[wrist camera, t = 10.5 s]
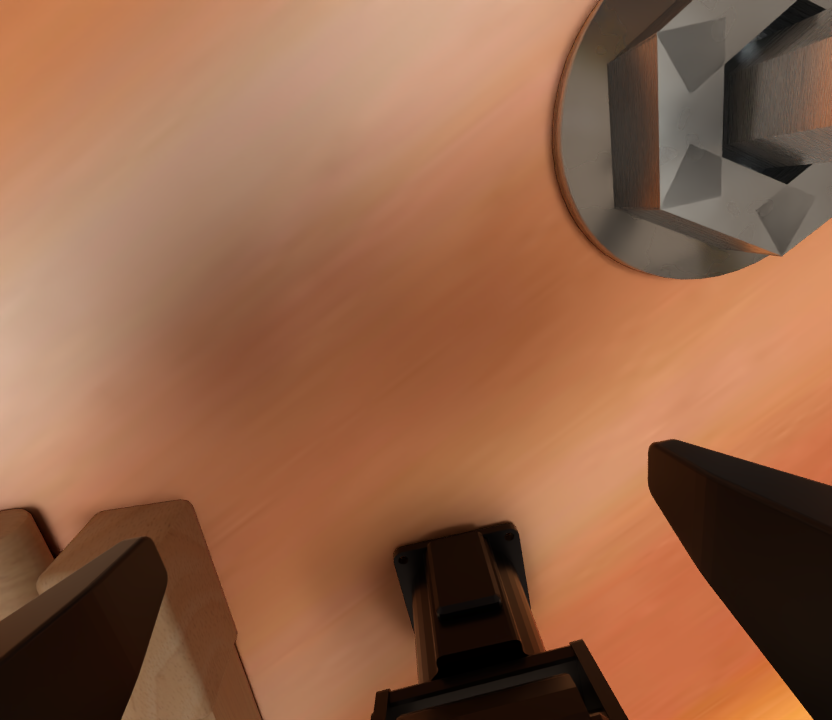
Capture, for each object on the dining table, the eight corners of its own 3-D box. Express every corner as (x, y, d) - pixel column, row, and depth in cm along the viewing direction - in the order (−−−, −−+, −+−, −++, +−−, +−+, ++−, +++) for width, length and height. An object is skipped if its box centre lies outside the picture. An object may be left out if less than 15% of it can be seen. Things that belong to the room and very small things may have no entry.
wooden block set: (125, 566, 16) (249, 847, 22) (189, 476, 21) (274, 722, 27) (-366, 642, 15) (-100, 908, 22) (-175, 530, 21) (-5, 768, 27)
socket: (900, 136, 18) (1037, 118, 14) (653, 331, 20) (716, 360, 16) (772, -171, 14) (910, -304, 11) (489, 103, 16) (521, 72, 13)
